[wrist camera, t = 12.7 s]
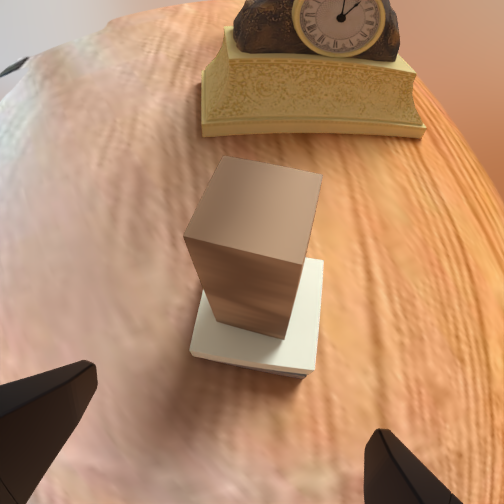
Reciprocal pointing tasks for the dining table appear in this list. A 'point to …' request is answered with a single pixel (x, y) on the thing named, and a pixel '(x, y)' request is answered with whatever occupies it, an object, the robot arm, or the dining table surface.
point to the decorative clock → (310, 72)
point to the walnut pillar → (253, 242)
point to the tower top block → (261, 346)
